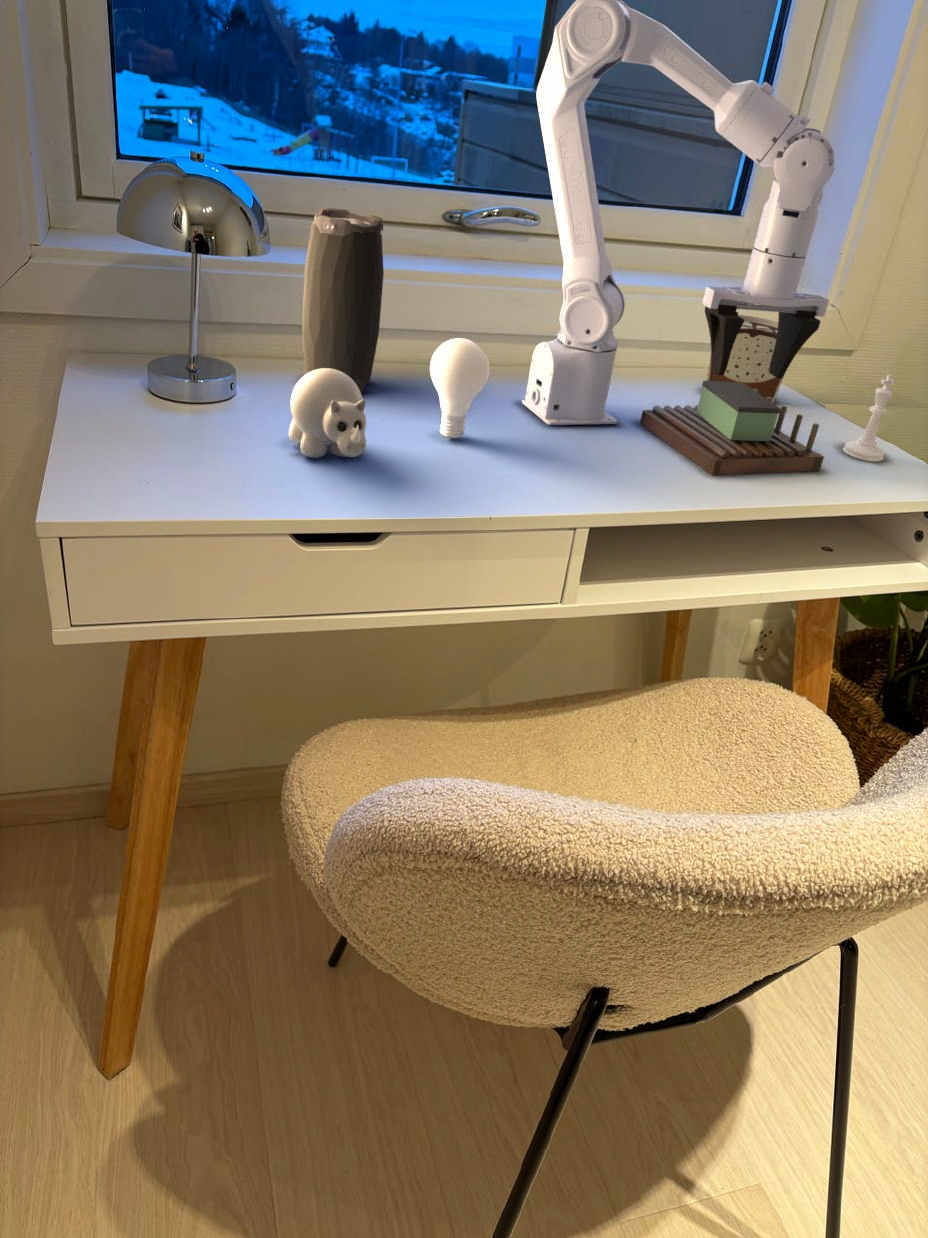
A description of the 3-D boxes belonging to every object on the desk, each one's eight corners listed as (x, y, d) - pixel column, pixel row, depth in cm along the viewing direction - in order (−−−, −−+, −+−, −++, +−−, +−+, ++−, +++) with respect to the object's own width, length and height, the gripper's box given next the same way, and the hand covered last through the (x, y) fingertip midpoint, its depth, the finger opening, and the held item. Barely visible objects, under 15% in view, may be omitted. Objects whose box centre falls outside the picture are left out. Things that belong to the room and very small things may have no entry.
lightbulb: (488, 437, 114) (502, 340, 108) (465, 453, 108) (478, 352, 103) (437, 423, 115) (449, 327, 110) (412, 438, 110) (423, 338, 105)
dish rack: (711, 475, 112) (723, 432, 110) (639, 423, 125) (648, 384, 122) (819, 470, 118) (833, 430, 115) (740, 422, 130) (750, 384, 128)
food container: (775, 392, 145) (796, 321, 140) (783, 405, 139) (805, 332, 134) (690, 379, 145) (707, 308, 140) (694, 391, 140) (712, 319, 135)
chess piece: (834, 447, 126) (860, 368, 121) (864, 445, 128) (890, 368, 123) (861, 462, 122) (889, 381, 117) (892, 460, 124) (920, 381, 119)
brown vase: (385, 384, 125) (401, 218, 116) (347, 402, 118) (360, 226, 108) (326, 367, 128) (336, 203, 118) (285, 384, 120) (292, 211, 111)
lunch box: (729, 440, 115) (739, 406, 113) (695, 412, 123) (703, 380, 121) (771, 441, 117) (781, 408, 115) (734, 414, 125) (743, 382, 122)
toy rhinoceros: (316, 485, 96) (321, 399, 92) (279, 439, 105) (282, 358, 101) (386, 481, 99) (394, 397, 95) (345, 436, 108) (350, 358, 104)
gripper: (817, 249, 115) (783, 366, 122) (703, 238, 111) (675, 360, 118) (852, 263, 110) (814, 385, 116) (733, 252, 106) (701, 379, 112)
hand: (746, 374), depth 117 cm, fingers open, 7 cm apart
